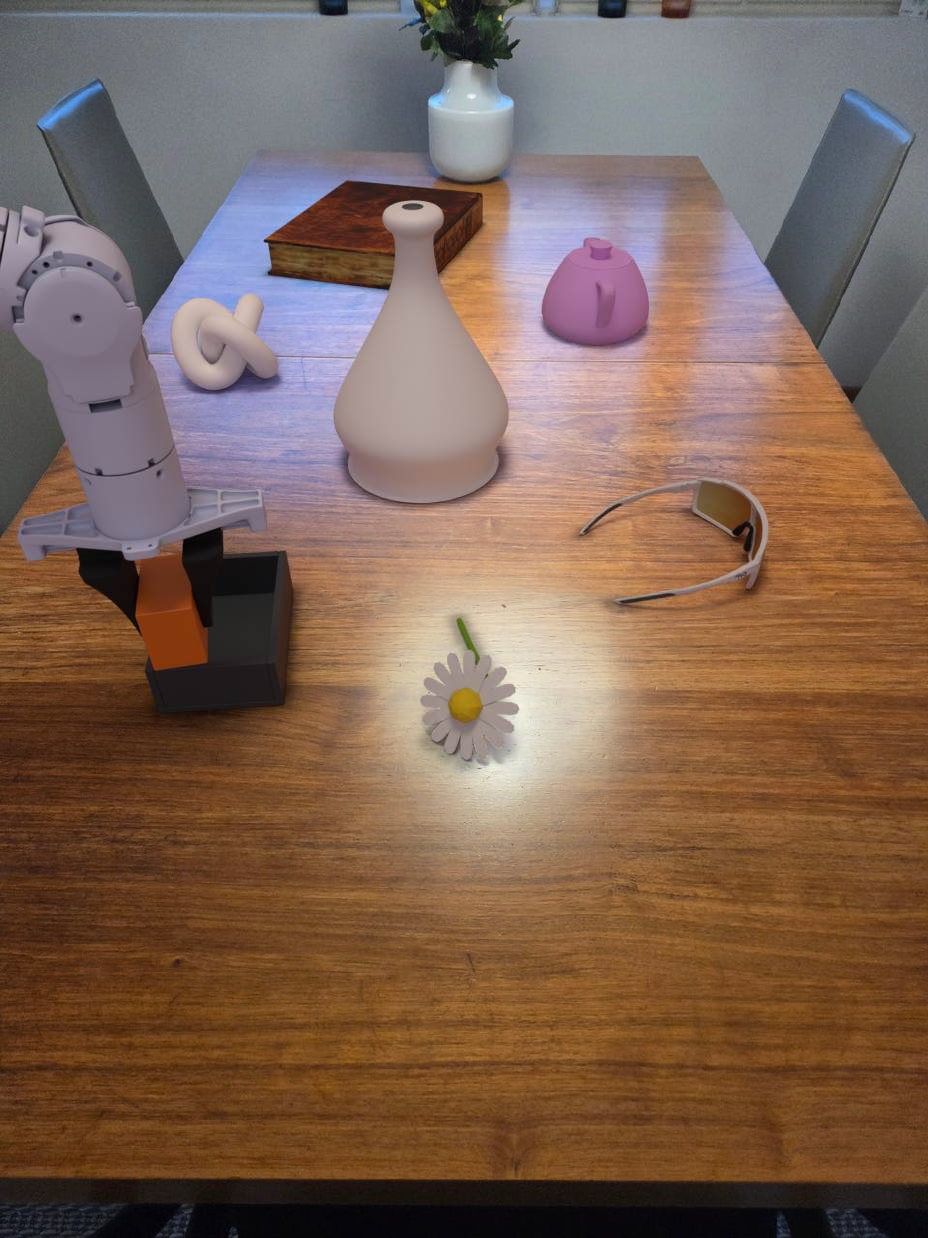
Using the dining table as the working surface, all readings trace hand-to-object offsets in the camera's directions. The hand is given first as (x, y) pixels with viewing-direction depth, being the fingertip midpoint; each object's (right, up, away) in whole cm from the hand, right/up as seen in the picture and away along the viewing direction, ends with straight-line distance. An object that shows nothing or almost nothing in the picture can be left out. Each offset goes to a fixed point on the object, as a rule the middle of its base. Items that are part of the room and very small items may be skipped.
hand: (177, 622), depth 60 cm
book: (+7, +58, +77) cm, 96 cm away
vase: (+15, +16, +31) cm, 38 cm away
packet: (0, -1, +1) cm, 1 cm away
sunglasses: (+39, +6, +19) cm, 43 cm away
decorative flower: (+19, -6, +7) cm, 21 cm away
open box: (+1, -2, +10) cm, 10 cm away
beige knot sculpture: (-7, +29, +45) cm, 54 cm away
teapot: (+37, +39, +56) cm, 77 cm away
